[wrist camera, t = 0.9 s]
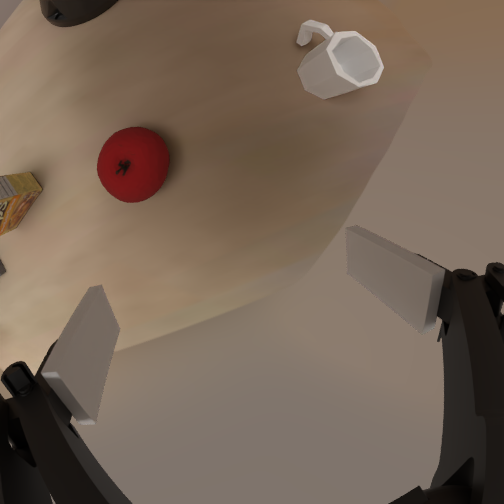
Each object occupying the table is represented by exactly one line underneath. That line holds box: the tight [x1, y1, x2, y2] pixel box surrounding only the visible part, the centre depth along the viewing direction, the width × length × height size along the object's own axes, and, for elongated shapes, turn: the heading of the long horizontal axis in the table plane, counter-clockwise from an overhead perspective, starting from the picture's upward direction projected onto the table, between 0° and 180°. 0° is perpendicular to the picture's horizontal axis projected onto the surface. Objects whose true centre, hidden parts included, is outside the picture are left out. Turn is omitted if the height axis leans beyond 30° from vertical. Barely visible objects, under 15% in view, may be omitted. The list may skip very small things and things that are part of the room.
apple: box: [97, 127, 169, 203], centre depth 30 cm, size 9×9×10 cm
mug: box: [296, 20, 384, 100], centre depth 30 cm, size 12×9×10 cm
